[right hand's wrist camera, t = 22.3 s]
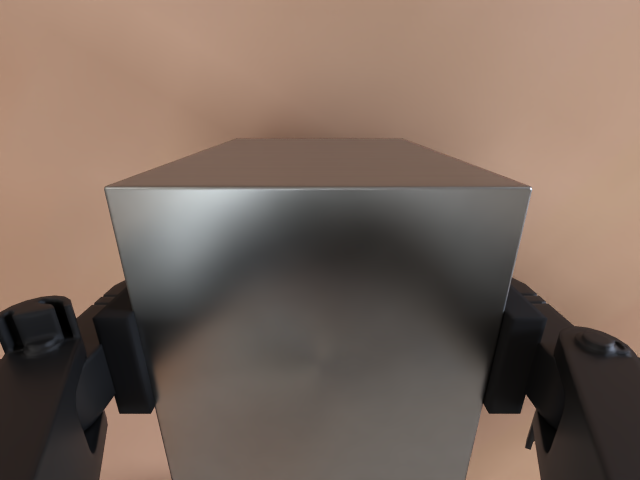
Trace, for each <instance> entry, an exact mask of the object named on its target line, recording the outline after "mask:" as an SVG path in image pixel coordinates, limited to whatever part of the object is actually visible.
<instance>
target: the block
mask: <svg viewBox="0 0 640 480" xmlns="http://www.w3.org/2000/svg"><path fill="white" fill-rule="evenodd" d="M104 190H105V195H106V199H107V203H108V208H109V212H110V216H111V220H112V225H113V229H114V233H115V238H116V242H117V246H118V250H119V255H120V259H121V263H122V268H123V272H124V276H125V280H126V285H127V289H128V293H129V298H130V302H131V306H132V310H133V311H134V314H135V319H136V323H137V327H138V331H139V336H140V340H141V344H142V349H143V353H144V357H145V362H146V366H147V370H148V375H149V379H150V383H151V387H152V392H153V396H154V400H155V409H156V413H157V418H158V422H159V426H160V430H161V435H162V439H163V443H164V448H165V452H166V456H167V460H168V465H169V469H170V473H171V478H172V480H465V479H466V474H467V470H468V466H469V461H470V457H471V453H472V448H473V444H474V440H475V435H476V431H477V427H478V422H479V418H480V414H481V409H482V405H483V401H484V396H485V392H486V387H487V383H488V379H489V374H490V370H491V366H492V361H493V357H494V353H495V348H496V344H497V340H498V335H499V331H500V327H501V322H502V318H503V314H504V309H505V305H506V300H507V296H508V292H509V287H510V283H511V279H512V274H513V270H514V266H515V261H516V257H517V253H518V248H519V244H520V240H521V235H522V231H523V227H524V222H525V218H526V213H527V209H528V205H529V200H530V196H531V192H532V187H530V186H528V185H525V184H523V183H520V182H517V181H515V180H512V179H509V178H507V177H504V176H501V175H499V174H496V173H493V172H491V171H488V170H485V169H483V168H480V167H477V166H475V165H472V164H469V163H467V162H464V161H461V160H459V159H456V158H453V157H451V156H448V155H445V154H443V153H440V152H437V151H435V150H432V149H429V148H427V147H424V146H421V145H418V144H416V143H413V142H410V141H408V140H405V139H354V138H236V139H234V140H231V141H228V142H225V143H223V144H220V145H217V146H214V147H212V148H209V149H206V150H203V151H201V152H198V153H195V154H192V155H190V156H187V157H184V158H182V159H179V160H176V161H173V162H171V163H168V164H165V165H162V166H160V167H157V168H154V169H151V170H149V171H146V172H143V173H140V174H138V175H135V176H132V177H130V178H127V179H124V180H121V181H119V182H116V183H113V184H110V185H108V186H105V188H104Z"/></svg>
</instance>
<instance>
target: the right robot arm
mask: <svg viewBox="0 0 640 480" xmlns="http://www.w3.org/2000/svg"><path fill="white" fill-rule="evenodd" d="M0 343H1V345H2V347H3V350H4V352H5V355H4V356H3V358H2V359H0V480H99V478H100V471H101V465H102V458H103V452H104V445H105V439H106V432H107V426H108V424H107V417H106V414H105V411H104V409H105V408H106V406H107V405H108V403H109V402H110V401H111V399H112V398H113V396H115V400H116V403H117V407H118V410H119V414H151V412H152V411H153V409H154V407H155V400H154V396H153V392H152V387H151V383H150V379H149V375H148V370H147V366H146V362H145V357H144V353H143V349H142V344H141V340H140V336H139V331H138V327H137V323H136V319H135V314H134V311H133V310H132V306H131V302H130V298H129V293H128V289H127V285H126V280H125V281H123V282H121V283H119V284H117V285H115V286H113V287H112V288H111V289H110V290H109V291H108V292H106V293H105V294H104V296H103V297H101V298H100V299H98V300H97V301H96V302H95V303H94V305H91V306H90V307H89V308H88V309H87V310H86V311H85V312H83V313H82V314H81V315H80V316H79V317H78V318H76V316H75V313H74V310H73V307H72V303H71V300H70V299H68V298H66V297H64V296H46V297H39V298H35V299H31V300H27V301H24V302H21V303H18V304H16V305H13V306H11V307H9V308H7V309H5V310H3V311H2V312H0ZM525 395H527V396H528V398H529V399H530V401H531V402H532V403H533V405H534V406H535V407H536V411H535V414H534V417H533V421H532V424H531V427H530V430H529V434H528V437H527V440H526V446H525V448H527V449H530V450H531V447H532V444H533V442H534V441H535V444H536V451H537V457H538V464H539V470H540V477H541V480H640V358H639V357H637V355H636V354H635V353H634V352H633V350H632V349H631V348H630V347H629V346H628V345H626V344H625V343H623V342H622V341H620V340H619V339H617V338H615V337H613V336H611V335H609V334H606V333H604V332H601V331H598V330H594V329H591V328H586V327H578V326H573V325H572V324H571V323H570V322H569V321H568V320H566V319H565V318H564V317H563V316H562V315H561V314H560V313H558V312H557V311H556V310H555V309H554V308H553V307H551V306H550V305H549V304H546V301H544V300H543V299H542V298H541V297H540V296H537V294H536V293H535V292H534V291H533V290H532V289H530V288H529V287H528V286H527V285H526V284H524V283H522V282H520V281H518V280H516V279H514V278H512V279H511V283H510V287H509V292H508V296H507V300H506V305H505V309H504V314H503V318H502V322H501V327H500V331H499V335H498V340H497V344H496V348H495V353H494V357H493V361H492V366H491V370H490V374H489V379H488V383H487V387H486V392H485V396H484V401H483V404H484V405H485V407H486V409H487V411H488V413H489V414H520V413H521V409H522V406H523V402H524V399H525Z"/></svg>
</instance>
